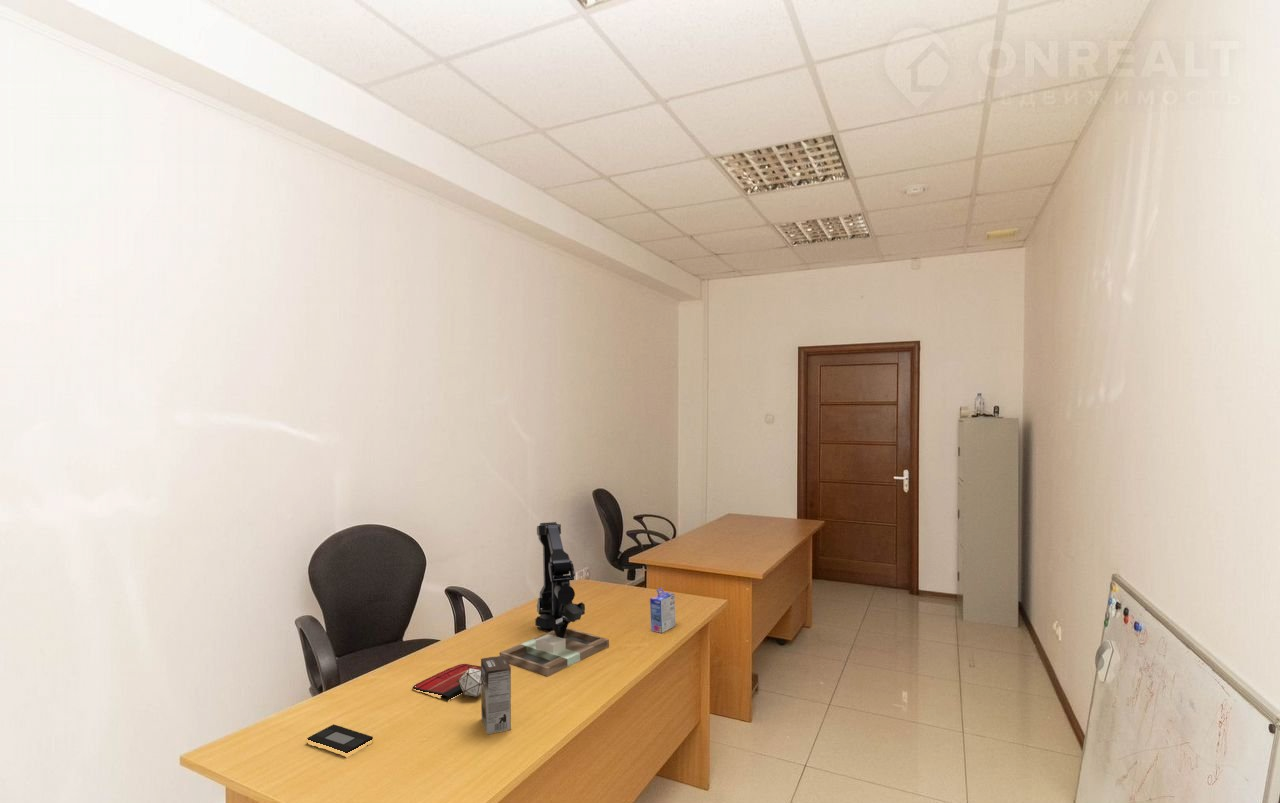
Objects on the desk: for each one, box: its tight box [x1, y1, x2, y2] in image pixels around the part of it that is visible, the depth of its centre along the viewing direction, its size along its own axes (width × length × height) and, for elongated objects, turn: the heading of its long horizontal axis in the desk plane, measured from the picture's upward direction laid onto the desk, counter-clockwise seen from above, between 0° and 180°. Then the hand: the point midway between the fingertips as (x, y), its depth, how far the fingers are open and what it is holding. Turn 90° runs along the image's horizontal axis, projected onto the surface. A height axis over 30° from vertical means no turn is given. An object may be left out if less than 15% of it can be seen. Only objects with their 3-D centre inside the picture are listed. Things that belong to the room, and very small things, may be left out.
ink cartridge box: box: [649, 587, 677, 634], centre depth 235 cm, size 10×6×14 cm, turn 145°
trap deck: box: [499, 627, 610, 677], centre depth 211 cm, size 22×30×2 cm
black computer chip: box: [306, 724, 374, 753], centre depth 154 cm, size 8×14×2 cm, turn 64°
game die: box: [455, 664, 481, 700], centre depth 180 cm, size 9×8×10 cm
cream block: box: [536, 634, 566, 654], centre depth 209 cm, size 8×6×3 cm
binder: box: [412, 663, 481, 701], centre depth 189 cm, size 16×2×21 cm
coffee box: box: [480, 655, 512, 735], centre depth 163 cm, size 9×6×16 cm
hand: (560, 640), depth 213 cm, fingers closed
